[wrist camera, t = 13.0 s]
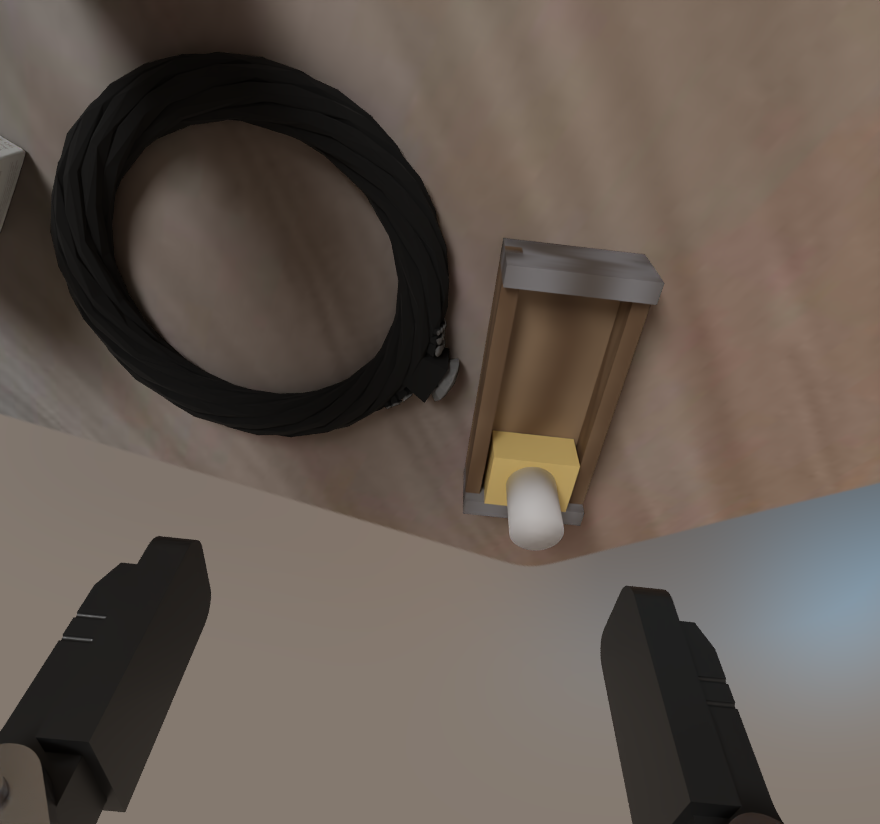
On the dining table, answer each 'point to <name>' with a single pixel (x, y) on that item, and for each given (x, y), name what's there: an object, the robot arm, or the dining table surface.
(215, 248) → the dining table surface
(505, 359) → the wooden tray
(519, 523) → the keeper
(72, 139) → the cable lock
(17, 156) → the supplement box
